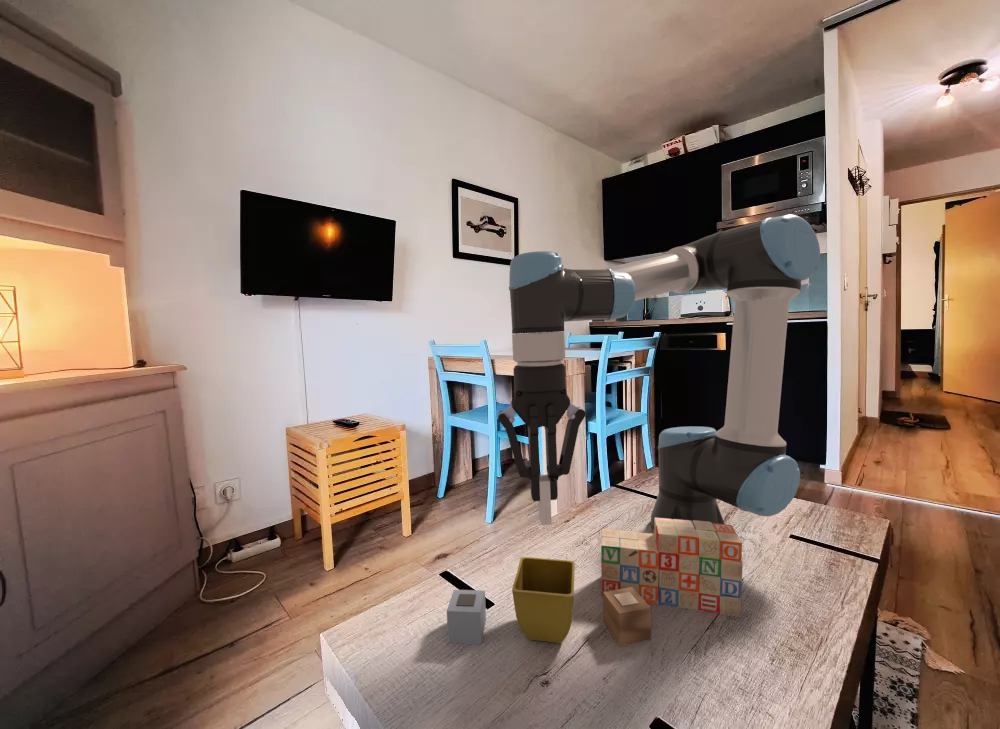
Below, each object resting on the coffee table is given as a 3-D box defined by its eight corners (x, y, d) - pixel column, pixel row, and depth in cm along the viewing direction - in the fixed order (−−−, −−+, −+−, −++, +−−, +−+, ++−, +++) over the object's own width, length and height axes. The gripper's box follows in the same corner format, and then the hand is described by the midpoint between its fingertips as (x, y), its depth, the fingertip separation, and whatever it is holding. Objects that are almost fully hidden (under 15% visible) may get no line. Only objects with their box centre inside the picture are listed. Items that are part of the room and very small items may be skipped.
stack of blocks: (600, 597, 70) (599, 527, 69) (602, 576, 76) (601, 511, 75) (742, 617, 64) (742, 541, 63) (731, 592, 70) (732, 523, 69)
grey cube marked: (486, 620, 65) (484, 589, 64) (481, 644, 60) (480, 611, 60) (455, 619, 65) (453, 588, 65) (448, 643, 60) (446, 610, 60)
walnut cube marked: (632, 617, 65) (632, 585, 64) (650, 639, 60) (650, 606, 59) (603, 622, 64) (603, 591, 63) (619, 646, 59) (619, 612, 58)
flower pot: (575, 657, 57) (573, 595, 56) (513, 649, 59) (511, 589, 58) (576, 614, 66) (575, 560, 65) (522, 608, 67) (520, 556, 67)
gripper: (577, 359, 63) (582, 507, 65) (493, 363, 62) (500, 512, 64) (590, 362, 55) (595, 529, 57) (494, 367, 55) (502, 535, 57)
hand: (545, 520), depth 61 cm, fingers closed
